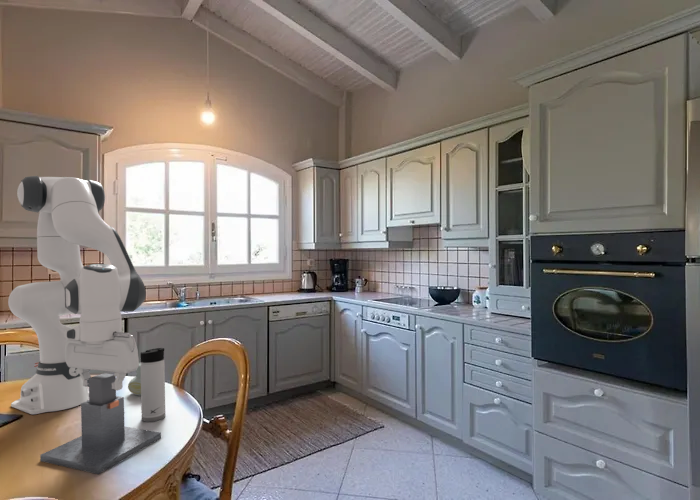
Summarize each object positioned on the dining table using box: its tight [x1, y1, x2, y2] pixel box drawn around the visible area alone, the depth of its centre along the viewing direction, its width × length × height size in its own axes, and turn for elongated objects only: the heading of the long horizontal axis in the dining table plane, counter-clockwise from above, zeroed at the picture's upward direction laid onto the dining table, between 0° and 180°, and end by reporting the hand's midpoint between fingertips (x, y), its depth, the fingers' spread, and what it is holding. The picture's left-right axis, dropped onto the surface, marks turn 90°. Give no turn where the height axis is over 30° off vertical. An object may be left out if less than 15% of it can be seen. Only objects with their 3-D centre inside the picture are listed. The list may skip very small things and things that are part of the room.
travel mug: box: [139, 347, 166, 423], centre depth 123 cm, size 6×7×20 cm
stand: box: [39, 395, 162, 475], centre depth 104 cm, size 18×18×12 cm
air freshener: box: [127, 362, 141, 397], centre depth 144 cm, size 11×8×10 cm
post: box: [88, 372, 117, 405], centre depth 104 cm, size 4×4×16 cm
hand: (102, 387), depth 104 cm, fingers open, 8 cm apart
